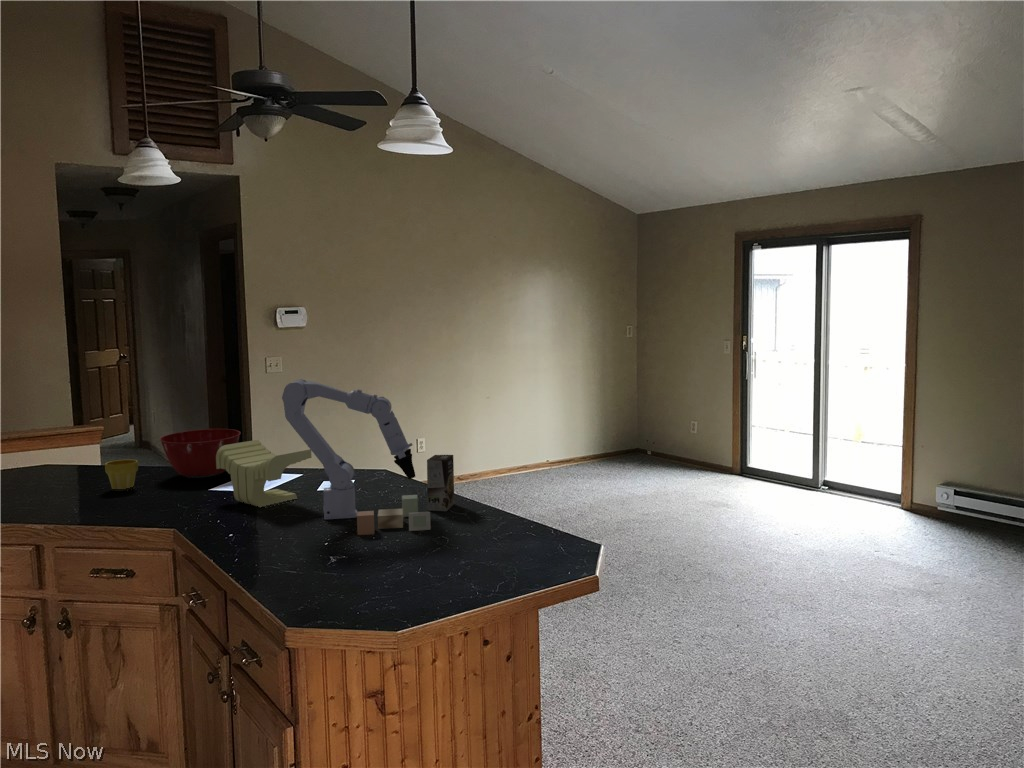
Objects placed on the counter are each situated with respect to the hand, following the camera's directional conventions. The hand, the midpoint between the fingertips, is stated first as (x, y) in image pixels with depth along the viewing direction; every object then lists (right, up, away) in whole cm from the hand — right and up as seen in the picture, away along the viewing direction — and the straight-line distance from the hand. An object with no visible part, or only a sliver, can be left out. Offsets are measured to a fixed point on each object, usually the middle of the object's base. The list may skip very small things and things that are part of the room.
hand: (411, 475), depth 241 cm
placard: (+4, -13, -16) cm, 21 cm away
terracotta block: (-11, -14, -17) cm, 25 cm away
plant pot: (-106, -9, +38) cm, 113 cm away
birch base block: (-5, -13, -10) cm, 17 cm away
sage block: (-1, -12, +1) cm, 12 cm away
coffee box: (+8, -11, +8) cm, 16 cm away
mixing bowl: (-87, -7, +60) cm, 106 cm away
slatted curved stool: (-50, -11, +18) cm, 55 cm away
